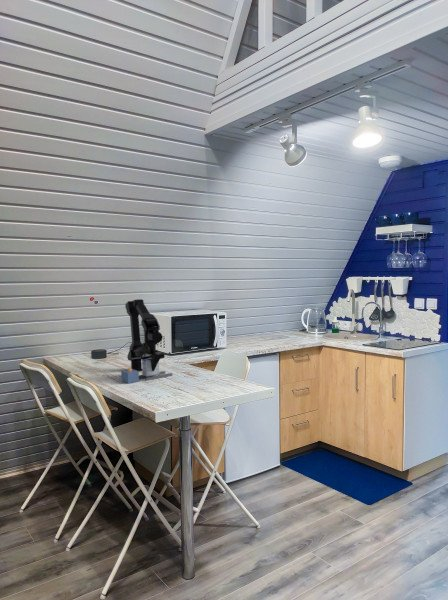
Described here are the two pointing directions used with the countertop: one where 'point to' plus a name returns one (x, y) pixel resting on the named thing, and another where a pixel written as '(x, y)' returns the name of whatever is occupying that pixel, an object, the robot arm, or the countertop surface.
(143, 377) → the rails
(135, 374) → the blue hollow block
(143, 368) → the medicine box
